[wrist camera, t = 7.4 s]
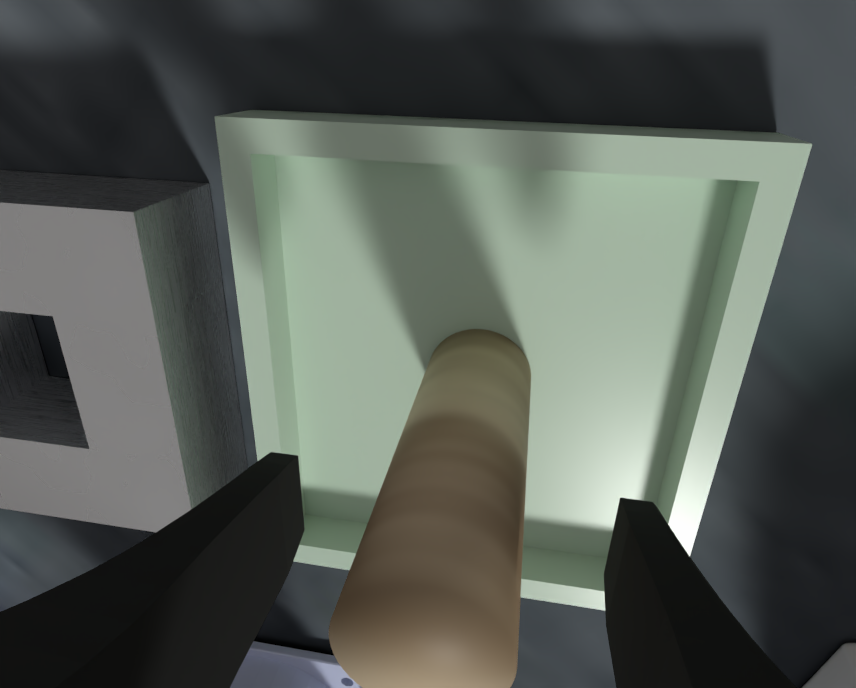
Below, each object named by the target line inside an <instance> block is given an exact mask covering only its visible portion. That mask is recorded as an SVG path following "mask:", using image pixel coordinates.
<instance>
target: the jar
mask: <svg viewBox="0 0 856 688" xmlns="http://www.w3.org/2000/svg"><path fill="white" fill-rule="evenodd" d="M802 688H856V643H845V644H843V645H842V646H841V647H840V648H839V649H838V650H837V651H836V652H835V653H834V654H833V655H832V656H831V657H830V658H829V659H828V660H827V662H826V663H825V664H824V665H823V666H822V667H821V668H820V669H819V670H818V671H817V672H816V673H815V674H814V675H813V676H812V677H811V678H810V679H809V680H808V681H807V683H806V684H805V685H804V686H803V687H802Z"/></svg>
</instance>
